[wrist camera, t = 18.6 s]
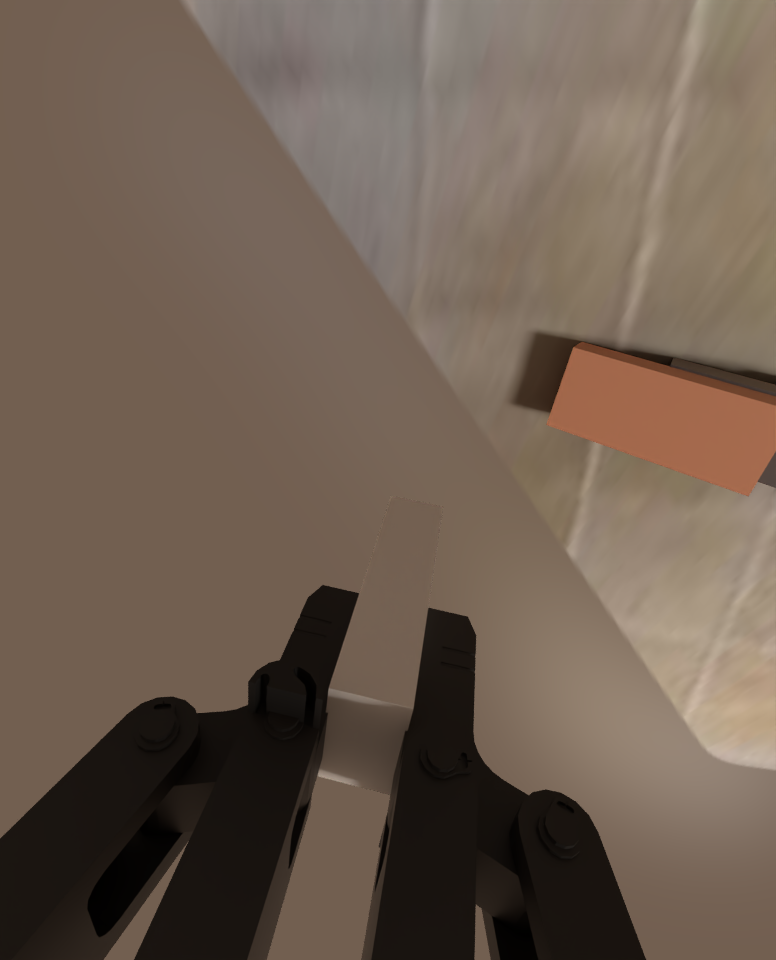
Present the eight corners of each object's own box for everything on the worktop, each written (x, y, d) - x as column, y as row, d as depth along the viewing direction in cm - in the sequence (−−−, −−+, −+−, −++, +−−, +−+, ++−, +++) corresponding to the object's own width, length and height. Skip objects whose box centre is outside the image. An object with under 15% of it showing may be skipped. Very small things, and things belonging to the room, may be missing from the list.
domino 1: (546, 424, 34) (748, 496, 29) (573, 347, 31) (799, 412, 27) (555, 415, 36) (746, 481, 31) (581, 341, 33) (794, 401, 29)
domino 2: (636, 441, 34) (855, 514, 29) (670, 364, 31) (916, 431, 26) (641, 430, 35) (847, 498, 31) (673, 357, 33) (903, 419, 28)
